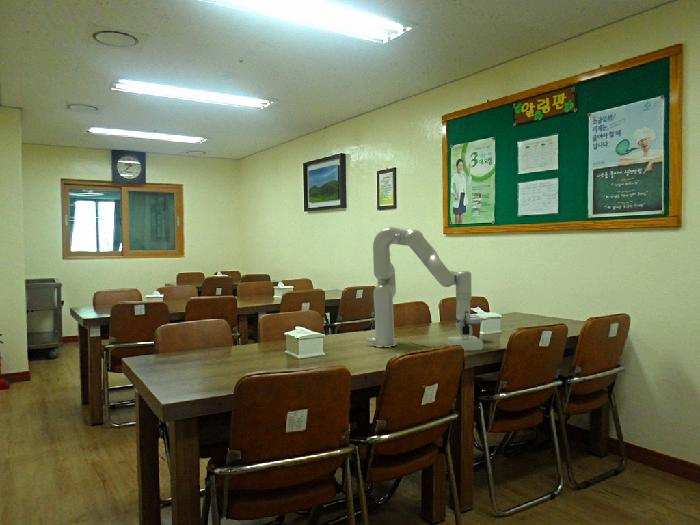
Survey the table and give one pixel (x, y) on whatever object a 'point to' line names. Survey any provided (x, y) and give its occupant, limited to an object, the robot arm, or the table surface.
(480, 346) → the stand
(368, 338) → the robot arm
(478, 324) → the disposable coffee cup
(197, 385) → the table surface
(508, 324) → the table surface
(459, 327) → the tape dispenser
